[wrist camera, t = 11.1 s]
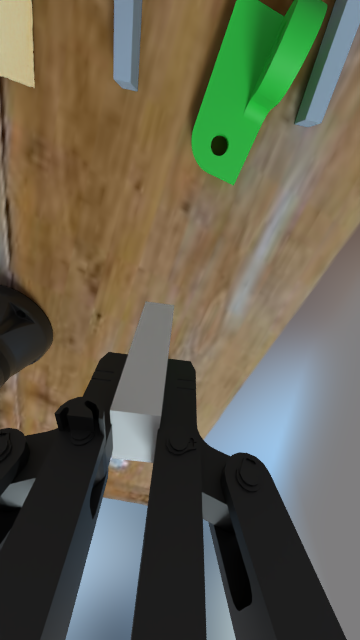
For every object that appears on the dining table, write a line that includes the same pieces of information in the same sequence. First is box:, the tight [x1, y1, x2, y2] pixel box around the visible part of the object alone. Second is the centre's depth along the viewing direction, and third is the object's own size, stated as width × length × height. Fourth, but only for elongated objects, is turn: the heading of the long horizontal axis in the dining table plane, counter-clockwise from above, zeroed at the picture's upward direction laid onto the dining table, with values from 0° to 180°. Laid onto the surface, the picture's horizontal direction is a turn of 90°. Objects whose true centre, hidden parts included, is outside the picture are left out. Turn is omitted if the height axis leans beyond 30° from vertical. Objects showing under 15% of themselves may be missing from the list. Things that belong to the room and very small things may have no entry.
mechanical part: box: [192, 0, 327, 185], centre depth 21 cm, size 12×6×8 cm, turn 158°
